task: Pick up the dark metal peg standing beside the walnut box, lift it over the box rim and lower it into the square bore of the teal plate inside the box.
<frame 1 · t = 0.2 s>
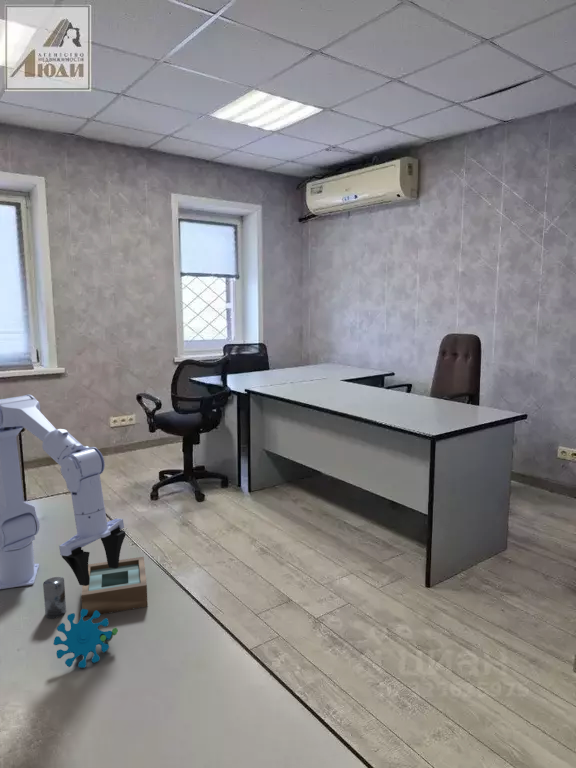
hand: (99, 575, 104), 10 cm above the table, tool pointing down, fingers open, 7 cm apart
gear: (87, 656, 96), on the table
peg: (55, 612, 109), on the table
bore box: (115, 595, 115), on the table
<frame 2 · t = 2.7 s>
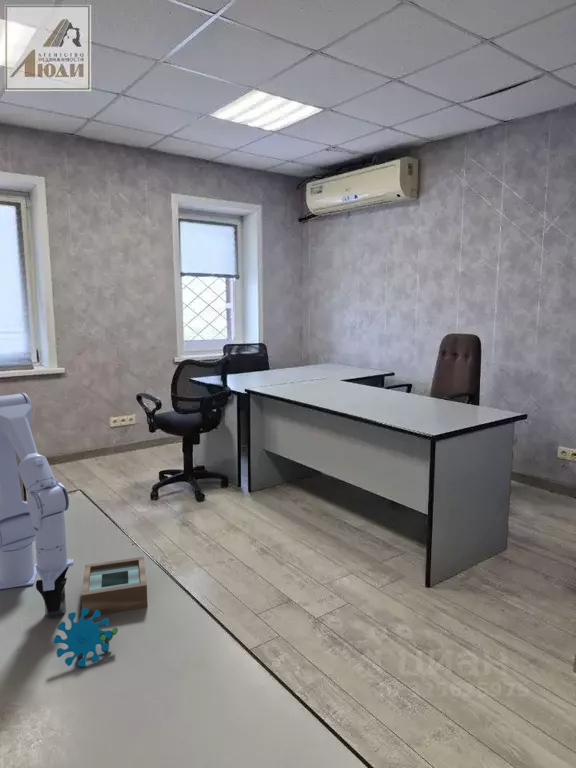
hand: (55, 604, 108), 2 cm above the table, tool pointing down, fingers closed on peg, 4 cm apart
peg: (55, 612, 109), on the table, touching gripper
everything else where it was.
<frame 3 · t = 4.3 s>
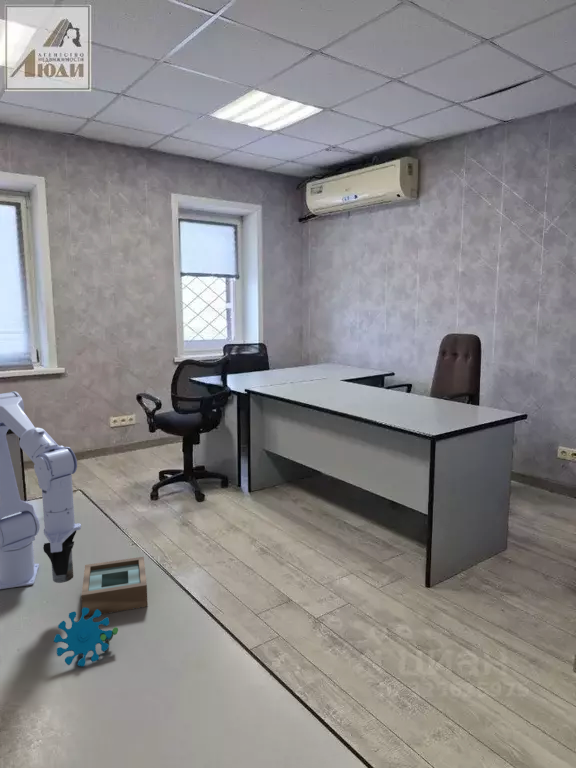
hand: (62, 568, 108), 9 cm above the table, tool pointing down, fingers closed on peg, 4 cm apart
peg: (63, 577, 109), point 7 cm above the table, touching gripper
everything else where it was.
when the fingers open (5 cm above the table, at t = 6.2 s): peg drops 2 cm, resting on bore box.
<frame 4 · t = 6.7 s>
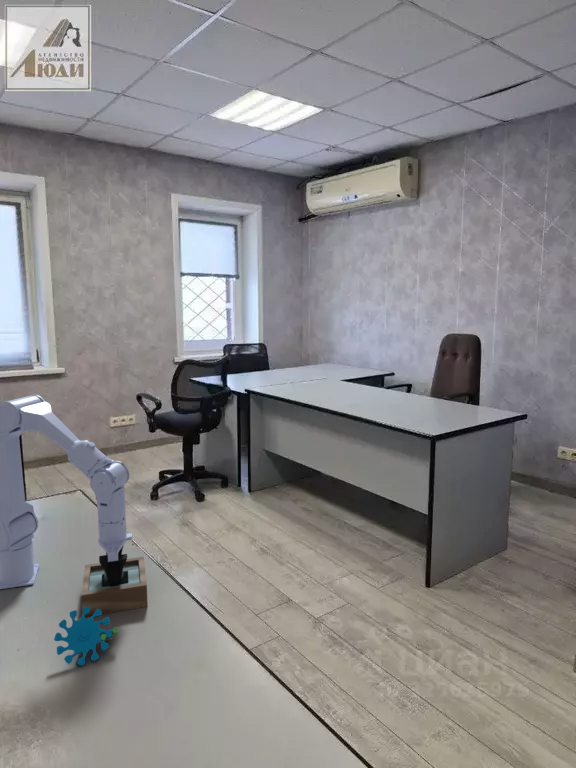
hand: (114, 576, 115), 5 cm above the table, tool pointing down, fingers open, 7 cm apart
peg: (115, 591, 115), point 1 cm above the table, touching bore box
everything else where it was.
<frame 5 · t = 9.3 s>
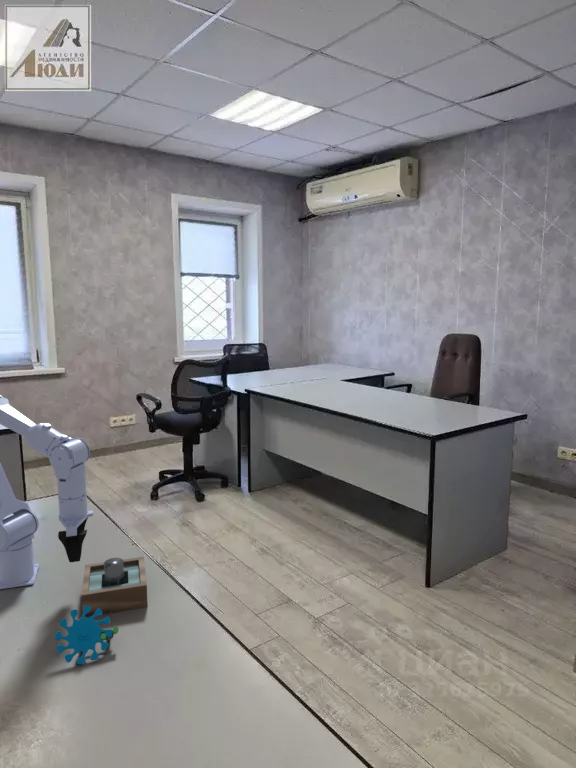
hand: (76, 552, 115), 9 cm above the table, tool pointing down, fingers open, 7 cm apart
nothing on the table moved.
at the end: peg 0.1 cm off-centre on the bore box, point 1.0 cm above the bore box's base; peg tilted 0°; the gripper is holding nothing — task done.
